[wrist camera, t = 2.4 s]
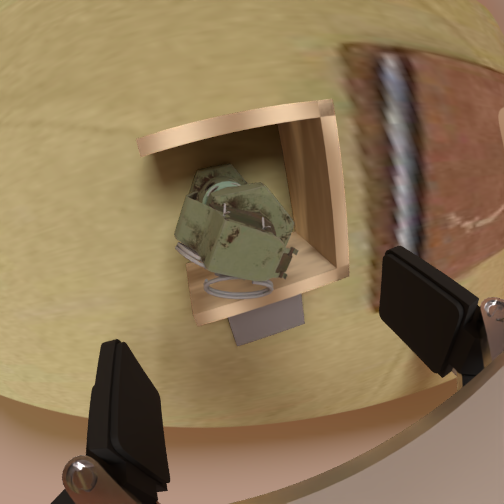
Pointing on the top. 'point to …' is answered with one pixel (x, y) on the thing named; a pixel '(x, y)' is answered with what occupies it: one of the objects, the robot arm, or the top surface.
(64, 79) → the top surface
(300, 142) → the light wood u-shaped frame
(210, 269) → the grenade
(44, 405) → the top surface
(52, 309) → the top surface
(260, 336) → the coaster
